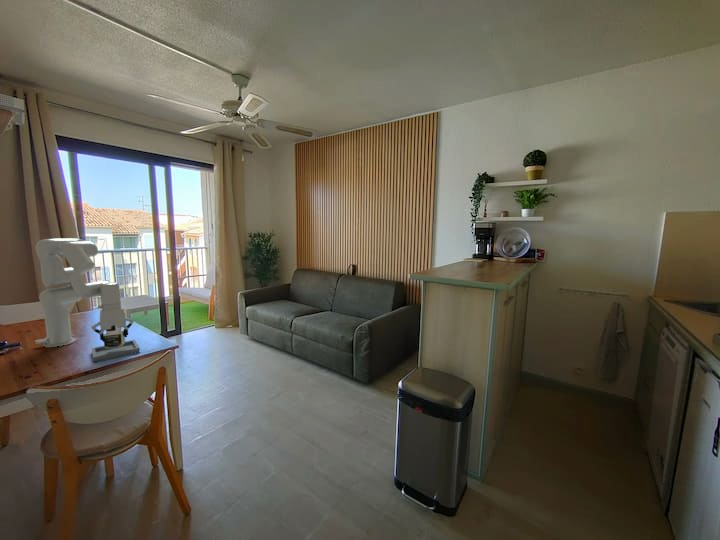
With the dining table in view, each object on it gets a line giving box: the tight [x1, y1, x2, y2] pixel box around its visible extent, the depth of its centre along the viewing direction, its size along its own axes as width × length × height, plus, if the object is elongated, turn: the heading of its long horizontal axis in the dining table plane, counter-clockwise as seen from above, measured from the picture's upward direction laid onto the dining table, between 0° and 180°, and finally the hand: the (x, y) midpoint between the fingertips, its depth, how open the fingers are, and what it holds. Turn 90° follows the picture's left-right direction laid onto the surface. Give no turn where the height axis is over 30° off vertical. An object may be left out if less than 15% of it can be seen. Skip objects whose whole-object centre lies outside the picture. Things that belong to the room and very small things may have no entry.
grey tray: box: [91, 339, 140, 363], centre depth 152 cm, size 18×16×2 cm
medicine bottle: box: [103, 325, 126, 349], centre depth 151 cm, size 7×7×12 cm
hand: (114, 338), depth 151 cm, fingers closed on medicine bottle, 8 cm apart
